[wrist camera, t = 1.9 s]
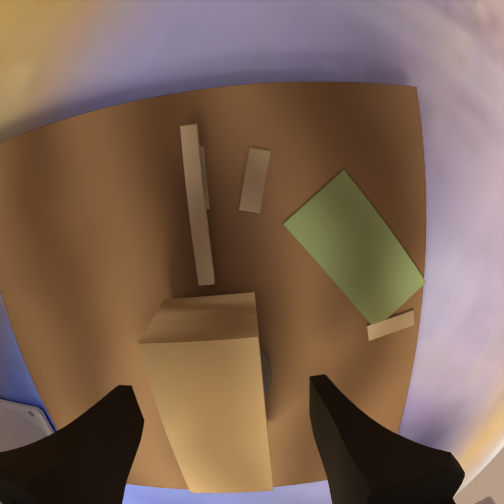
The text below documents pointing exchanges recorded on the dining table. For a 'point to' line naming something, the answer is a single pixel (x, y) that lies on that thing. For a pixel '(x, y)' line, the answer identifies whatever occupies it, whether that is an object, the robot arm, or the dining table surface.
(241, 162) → the brown flat square board
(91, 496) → the robot arm
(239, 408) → the peg key
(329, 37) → the dining table surface
